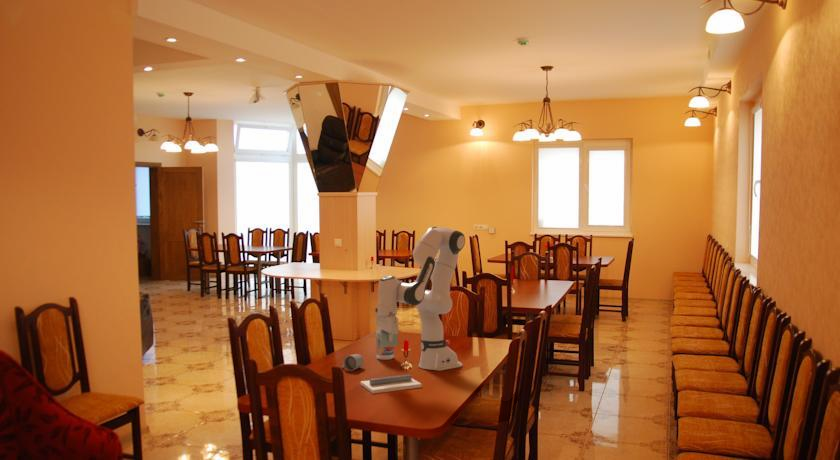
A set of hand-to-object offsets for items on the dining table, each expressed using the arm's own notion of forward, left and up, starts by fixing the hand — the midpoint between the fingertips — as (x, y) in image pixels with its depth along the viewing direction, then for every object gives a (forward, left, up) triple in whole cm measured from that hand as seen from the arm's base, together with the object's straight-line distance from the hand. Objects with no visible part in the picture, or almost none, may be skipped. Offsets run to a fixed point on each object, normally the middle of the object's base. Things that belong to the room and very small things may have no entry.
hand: (387, 339), depth 321 cm
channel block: (0, 0, -3) cm, 3 cm away
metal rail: (+1, +8, -18) cm, 20 cm away
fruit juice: (-17, -44, -20) cm, 51 cm away
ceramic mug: (+7, -30, -20) cm, 36 cm away
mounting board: (+1, +8, -20) cm, 21 cm away
